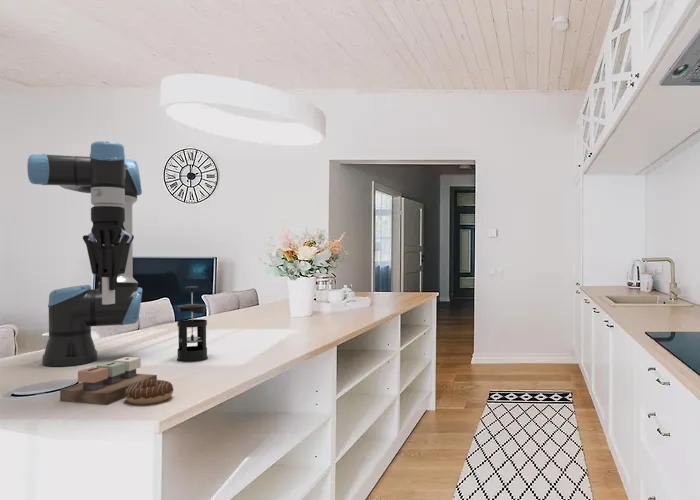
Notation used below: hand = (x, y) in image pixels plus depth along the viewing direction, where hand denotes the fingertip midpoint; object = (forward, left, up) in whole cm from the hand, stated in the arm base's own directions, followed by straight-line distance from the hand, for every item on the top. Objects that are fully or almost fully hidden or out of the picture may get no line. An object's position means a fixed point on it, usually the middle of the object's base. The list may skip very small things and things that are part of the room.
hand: (108, 303), depth 130 cm
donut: (+13, -2, -22) cm, 26 cm away
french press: (-2, +41, -22) cm, 46 cm away
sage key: (0, +1, -17) cm, 17 cm away
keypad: (0, +1, -22) cm, 22 cm away
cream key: (0, +7, -17) cm, 19 cm away
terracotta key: (0, -5, -17) cm, 18 cm away
